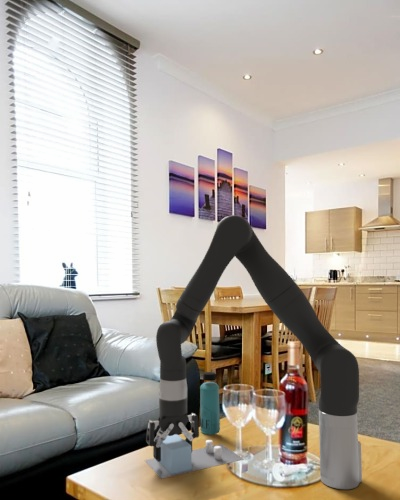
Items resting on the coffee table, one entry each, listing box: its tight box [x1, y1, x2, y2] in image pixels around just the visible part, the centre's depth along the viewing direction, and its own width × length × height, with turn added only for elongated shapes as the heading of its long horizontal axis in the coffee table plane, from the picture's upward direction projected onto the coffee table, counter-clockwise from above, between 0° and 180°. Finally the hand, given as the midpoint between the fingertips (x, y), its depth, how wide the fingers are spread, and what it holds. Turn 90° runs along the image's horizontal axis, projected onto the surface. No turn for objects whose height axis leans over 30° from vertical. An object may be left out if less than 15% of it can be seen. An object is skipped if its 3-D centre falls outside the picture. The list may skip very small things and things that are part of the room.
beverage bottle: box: [199, 371, 221, 435], centre depth 140 cm, size 6×7×20 cm
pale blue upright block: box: [160, 434, 192, 474], centre depth 116 cm, size 6×10×6 cm, turn 27°
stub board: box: [144, 439, 244, 480], centre depth 118 cm, size 24×12×4 cm, turn 117°
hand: (173, 457), depth 115 cm, fingers open, 8 cm apart
